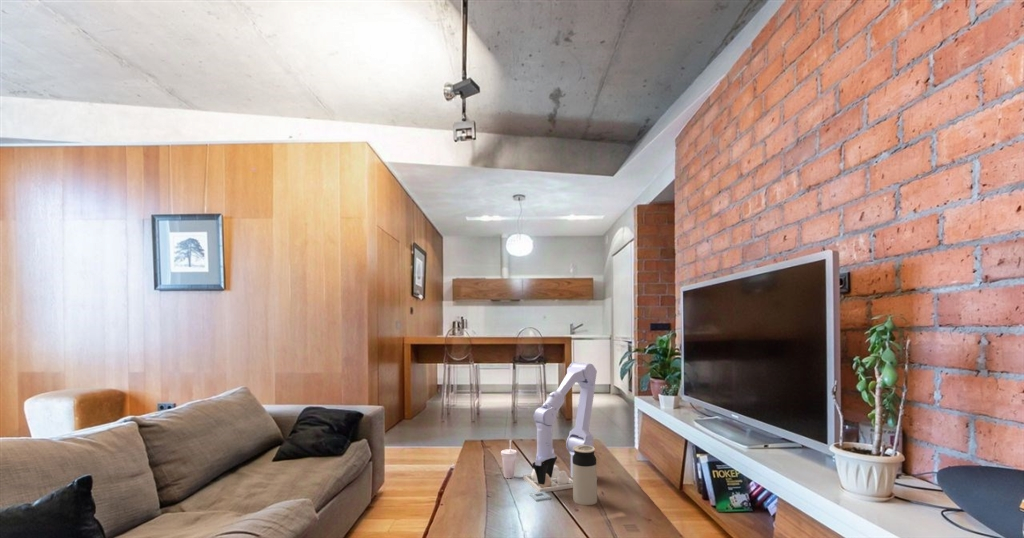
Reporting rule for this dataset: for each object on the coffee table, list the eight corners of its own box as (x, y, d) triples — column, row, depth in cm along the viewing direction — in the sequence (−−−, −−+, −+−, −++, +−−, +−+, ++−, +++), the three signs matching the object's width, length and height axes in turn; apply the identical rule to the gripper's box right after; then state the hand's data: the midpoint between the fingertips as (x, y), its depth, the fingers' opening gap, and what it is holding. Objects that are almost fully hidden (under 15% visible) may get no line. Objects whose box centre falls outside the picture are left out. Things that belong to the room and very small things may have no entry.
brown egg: (541, 485, 168) (541, 470, 168) (553, 487, 166) (552, 472, 166) (537, 490, 164) (536, 474, 164) (549, 492, 162) (548, 476, 162)
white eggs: (556, 476, 177) (556, 462, 177) (571, 487, 166) (571, 472, 167) (529, 480, 173) (529, 466, 173) (542, 491, 162) (541, 476, 162)
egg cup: (544, 495, 160) (544, 490, 160) (551, 502, 154) (551, 497, 154) (528, 498, 158) (528, 493, 158) (535, 504, 152) (535, 499, 152)
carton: (558, 476, 179) (558, 470, 179) (577, 489, 165) (577, 483, 165) (523, 481, 174) (523, 475, 174) (539, 495, 160) (539, 489, 160)
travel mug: (601, 503, 153) (600, 447, 155) (588, 510, 148) (586, 453, 149) (582, 496, 159) (581, 443, 161) (568, 503, 153) (567, 448, 155)
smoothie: (515, 480, 175) (515, 442, 176) (499, 479, 176) (499, 441, 177) (518, 474, 181) (518, 438, 182) (502, 473, 182) (502, 437, 184)
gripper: (548, 448, 158) (548, 488, 157) (561, 437, 172) (561, 475, 170) (529, 445, 161) (529, 485, 160) (543, 436, 174) (544, 472, 173)
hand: (545, 480), depth 165 cm, fingers open, 7 cm apart
